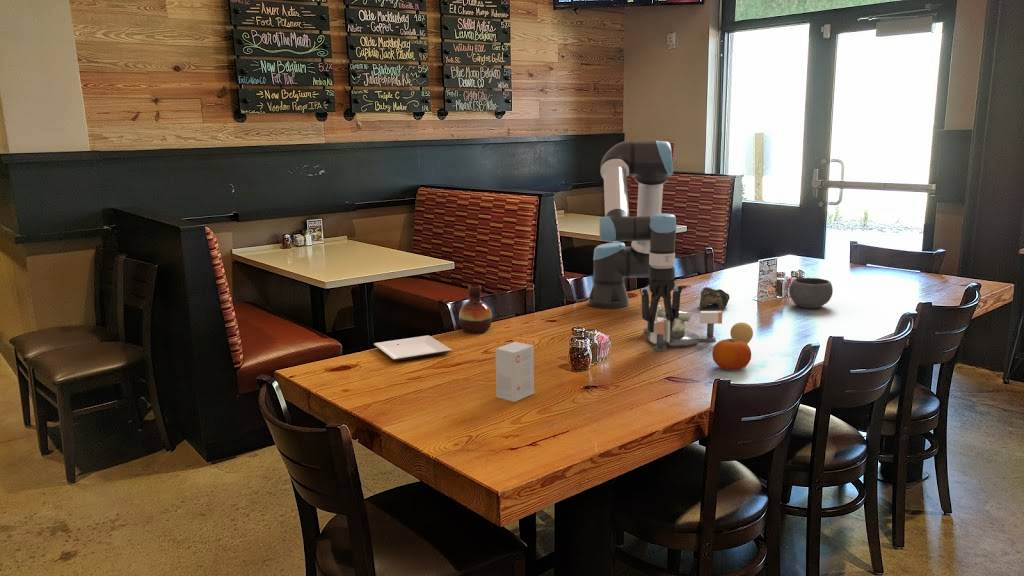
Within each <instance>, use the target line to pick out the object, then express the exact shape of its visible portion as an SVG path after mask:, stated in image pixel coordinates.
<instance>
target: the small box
mask: <svg viewBox="0 0 1024 576" xmlns="http://www.w3.org/2000/svg"><path fill="white" fill-rule="evenodd" d="M494 350H495V351H494V352H495V353H494V354H495V392H496V398H498V399H501V400H505V401H508V402H513V403H516V402H518V401H520V400H523V399H525V398H527V397H529V396H531V395H535V369H534V367H535V366H534V365H535V363H534V362H535V360H534V358H535V356H534V345H532V344H528V343H525V342H524V343H523V342H519V341H513V342H510V343H508V344H505V345H502V346H499V347H495V348H494Z"/></svg>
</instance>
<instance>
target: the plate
mask: <svg viewBox="0 0 1024 576" xmlns="http://www.w3.org/2000/svg"><path fill="white" fill-rule="evenodd" d="M397 344H399V345H397ZM373 345H374V346H375V347H376V348H377V349H379V350H380V351H382V352H383V353H384V354H385V355H386V356H388V357H389V358H390V359H392V360H393V361H398V362H400V361H407V360H412V359H419V358H426V357H431V356H437V355H443V354H446V353H449V352H452V351H453V349H451V348H450V347H449V346H447V345H445V344H443V343H442V342H441V341H439V340H437V339H435V338H434V337H432V336H431V335H429V334H428V335H421V336H414V337H409V338H408V337H407V338H401V339H393V340H387V341H381V342H375V343H373Z"/></svg>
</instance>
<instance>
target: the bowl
mask: <svg viewBox="0 0 1024 576" xmlns="http://www.w3.org/2000/svg"><path fill="white" fill-rule="evenodd" d="M833 291H834V289H833V285H832V282H831V281H830V280H827V279H823V278H819V277H799V278H794V279H793V280H792V281H791V283H790V285H789V296H790V298H791V300H792V302H793V303H794V304H795V305H796V306H798V307H800V308H805V309H817V308H820V307H823V306H824V305H826V304H828V303H829V301H831V299H832V297H833Z"/></svg>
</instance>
